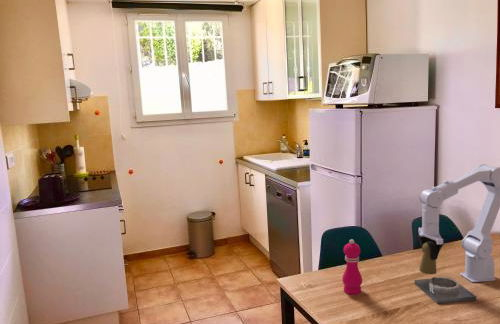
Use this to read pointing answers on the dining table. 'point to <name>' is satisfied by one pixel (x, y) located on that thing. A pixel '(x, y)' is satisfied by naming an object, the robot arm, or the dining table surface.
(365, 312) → the dining table surface
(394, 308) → the dining table surface
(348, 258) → the pepper mill
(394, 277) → the dining table surface
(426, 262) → the cork
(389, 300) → the dining table surface
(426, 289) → the plate
